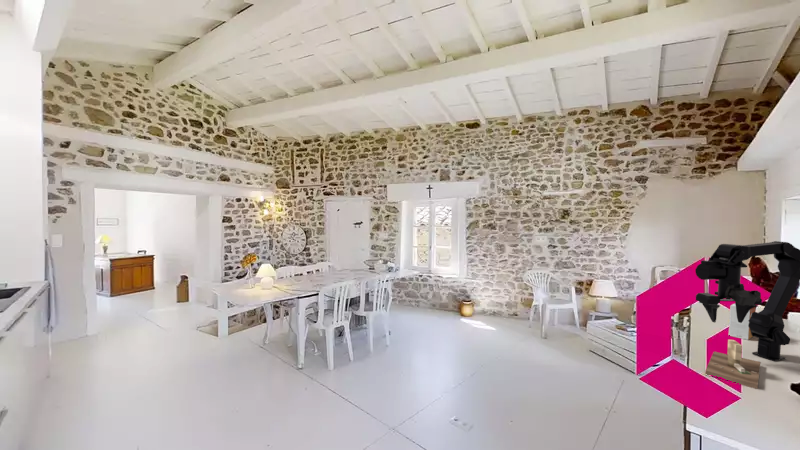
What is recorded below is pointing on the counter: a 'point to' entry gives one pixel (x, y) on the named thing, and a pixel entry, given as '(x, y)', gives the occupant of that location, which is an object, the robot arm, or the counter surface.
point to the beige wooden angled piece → (735, 355)
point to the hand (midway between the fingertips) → (726, 322)
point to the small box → (740, 324)
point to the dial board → (734, 370)
